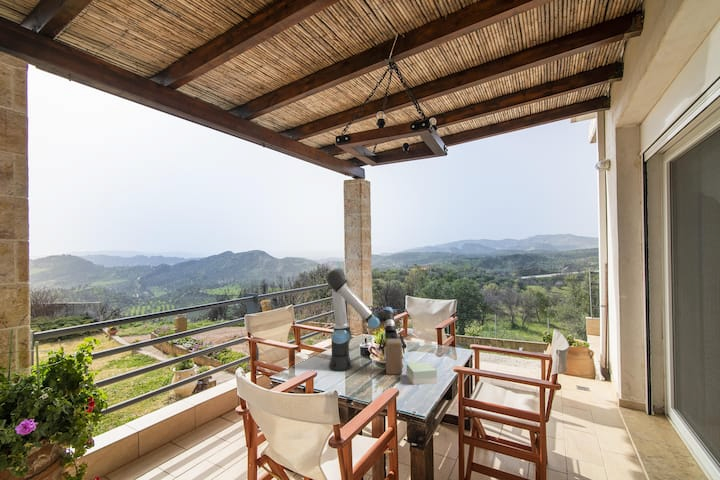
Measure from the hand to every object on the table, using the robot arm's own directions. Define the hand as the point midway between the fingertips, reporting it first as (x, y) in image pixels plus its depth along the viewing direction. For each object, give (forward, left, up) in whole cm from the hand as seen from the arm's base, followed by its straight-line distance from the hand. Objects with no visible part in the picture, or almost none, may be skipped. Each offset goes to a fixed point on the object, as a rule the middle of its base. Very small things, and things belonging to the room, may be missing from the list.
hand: (394, 358), depth 206 cm
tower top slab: (+13, -12, -6) cm, 19 cm away
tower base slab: (+13, -12, -10) cm, 20 cm away
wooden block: (0, +2, -9) cm, 10 cm away
